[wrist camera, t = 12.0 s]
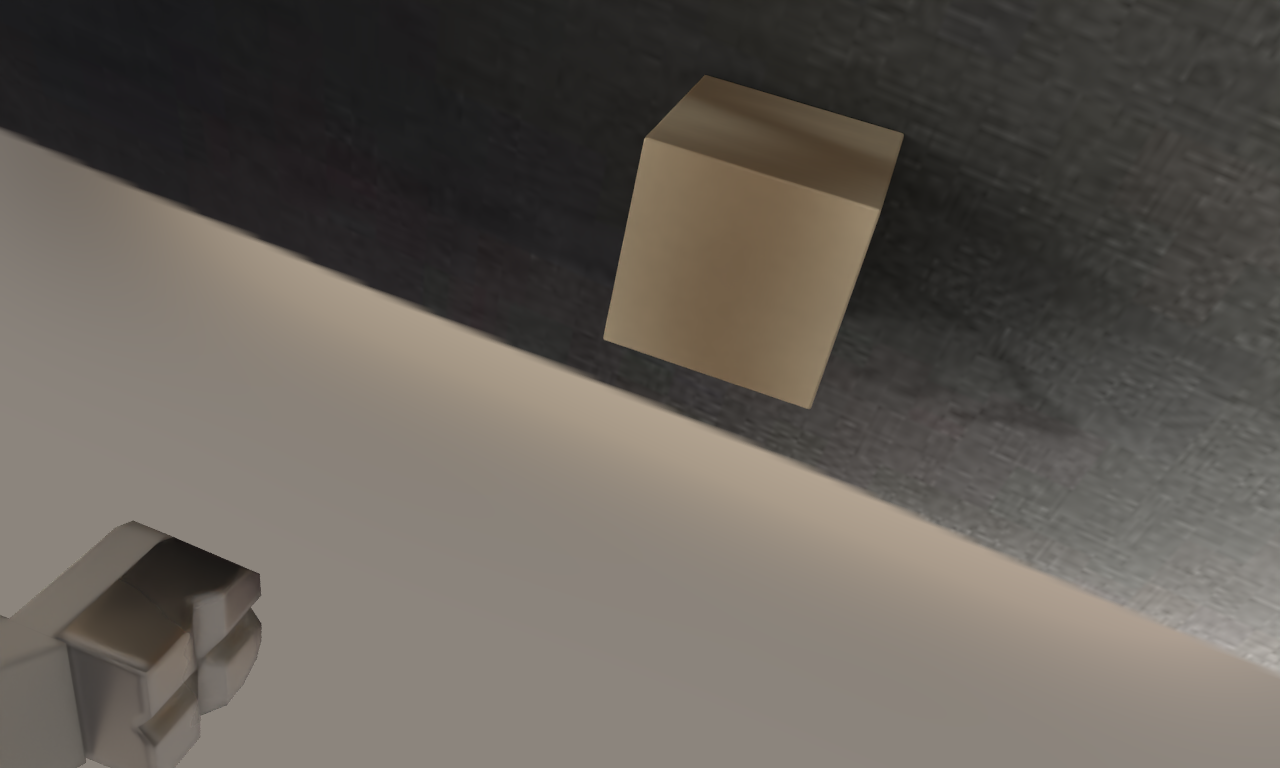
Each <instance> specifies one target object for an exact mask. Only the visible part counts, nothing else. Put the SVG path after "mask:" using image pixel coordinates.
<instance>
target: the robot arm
mask: <svg viewBox="0 0 1280 768" xmlns="http://www.w3.org/2000/svg"><path fill="white" fill-rule="evenodd" d="M260 596H261V587H260V574H259V573H256V572H254V571H252V570H249V569H247V568H244V567H242V566H240V565H238V564H235V563H233V562H231V561H228V560H226V559H223V558H221V557H219V556H217V555H214V554H212V553H209V552H207V551H205V550H202V549H200V548H198V547H195V546H193V545H191V544H188V543H186V542H183V541H181V540H179V539H177V538H175V537H172V536H170V535H167V534H165V533H162V532H160V531H157V530H155V529H152V528H150V527H148V526H145V525H142V524H140V523H137V522H135V521H131V522H129V523H126V524H123V525H121V526H119V527H116V528H115V529H113V530H112V531H111V532H110V533H109V534H108V535H106V536H105V537H104V538H103V539H102V540H101V541H99V542H98V543H97V544H96V545H95V546H94V547H92V548H91V549H90V550H89V551H88V552H87V553H85V554H84V555H83V556H82V557H81V558H80V559H78V560H77V561H76V562H75V563H74V564H73V565H71V566H70V567H69V568H68V569H67V570H66V571H64V572H63V573H62V574H61V575H60V576H59V577H57V578H56V579H55V580H54V581H53V582H52V583H51V584H49V585H48V586H47V587H46V588H45V589H43V590H42V591H41V592H40V593H39V594H38V595H36V597H34V598H33V599H32V600H31V601H30V602H28V603H27V604H26V605H25V606H24V607H22V608H21V609H20V610H19V611H18V612H17V613H15V614H14V615H13V616H12V617H11V618H10V619H9V618H6V617H3V616H1V615H0V768H77V767H79V766H81V765H83V764H85V763H86V758H88V759H90V760H93V761H96V762H98V763H100V764H103V765H105V766H108V767H111V768H175V767H176V765H177V764H178V763H179V762H180V760H182V758H183V757H184V756H185V755H186V753H187V752H188V751H189V750H190V749H191V748H192V746H193V745H194V744H195V743H196V742H197V740H198V739H199V738H200V721H201V715H203V714H206V713H208V712H211V711H213V710H216V709H218V708H221V707H223V706H226V705H227V704H228V703H229V702H230V700H231V699H232V698H233V697H234V695H235V694H236V693H237V692H238V690H239V689H240V688H241V687H242V685H243V684H244V682H245V680H246V678H247V676H248V675H249V673H250V671H251V669H252V667H253V665H254V663H255V661H256V659H257V655H258V651H259V647H260V643H261V623H260V621H259V619H258V618H257V616H256V615H255V613H254V612H253V610H252V609H251V606H252V605H253V604H254V603H255V602H256V601H257V600H258V598H259V597H260Z"/></svg>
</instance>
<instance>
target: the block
mask: <svg viewBox="0 0 1280 768" xmlns="http://www.w3.org/2000/svg"><path fill="white" fill-rule="evenodd" d="M903 138H904V134H903V133H900V132H897V131H893V130H890V129H886V128H883V127H880V126H876V125H873V124H870V123H866V122H863V121H859V120H856V119H853V118H849V117H846V116H843V115H839V114H836V113H833V112H829V111H826V110H822V109H819V108H816V107H812V106H809V105H806V104H802V103H799V102H795V101H792V100H789V99H785V98H782V97H779V96H775V95H772V94H768V93H765V92H762V91H758V90H755V89H752V88H748V87H745V86H742V85H738V84H735V83H731V82H728V81H725V80H721V79H718V78H715V77H711V76H708V75H704V76H703V77H702V79H701V80H700V81H699V82H698V83H697V84H696V85H695V86H694V87H693V88H692V89H691V90H690V91H689V92H688V93H687V94H686V95H685V96H684V97H683V98H682V99H681V101H680V102H679V103H678V104H677V105H676V106H675V107H674V108H673V109H672V110H671V111H670V112H669V113H668V114H667V115H666V116H665V117H664V118H663V119H662V120H661V121H660V123H659V124H658V125H657V126H656V127H655V128H654V129H653V130H652V131H651V132H650V133H649V134H648V135H647V136H646V137H645V139H644V143H643V147H642V152H641V157H640V162H639V167H638V172H637V177H636V181H635V186H634V191H633V196H632V201H631V206H630V210H629V215H628V220H627V225H626V230H625V235H624V240H623V244H622V249H621V254H620V259H619V264H618V269H617V273H616V278H615V283H614V288H613V293H612V298H611V303H610V307H609V312H608V317H607V322H606V327H605V332H604V336H603V337H604V340H607V341H610V342H612V343H615V344H618V345H621V346H624V347H627V348H630V349H633V350H636V351H639V352H642V353H645V354H648V355H651V356H654V357H657V358H660V359H662V360H665V361H668V362H671V363H674V364H677V365H680V366H683V367H686V368H689V369H692V370H695V371H698V372H701V373H704V374H707V375H709V376H712V377H715V378H718V379H721V380H724V381H727V382H730V383H733V384H736V385H739V386H742V387H745V388H748V389H751V390H754V391H757V392H759V393H762V394H765V395H768V396H771V397H774V398H777V399H780V400H783V401H786V402H789V403H792V404H795V405H798V406H801V407H804V408H807V409H810V408H811V407H812V404H813V401H814V398H815V395H816V393H817V390H818V387H819V384H820V381H821V379H822V376H823V373H824V370H825V367H826V365H827V362H828V359H829V356H830V353H831V350H832V348H833V345H834V342H835V339H836V336H837V334H838V331H839V328H840V325H841V322H842V320H843V317H844V314H845V311H846V308H847V306H848V303H849V300H850V297H851V294H852V291H853V289H854V286H855V283H856V280H857V277H858V275H859V272H860V269H861V266H862V263H863V261H864V258H865V255H866V252H867V249H868V246H869V244H870V241H871V238H872V235H873V232H874V230H875V227H876V224H877V221H878V218H879V216H880V213H881V210H882V206H883V203H884V200H885V197H886V193H887V190H888V187H889V183H890V180H891V177H892V174H893V170H894V167H895V164H896V161H897V157H898V154H899V151H900V147H901V144H902V141H903Z"/></svg>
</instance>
